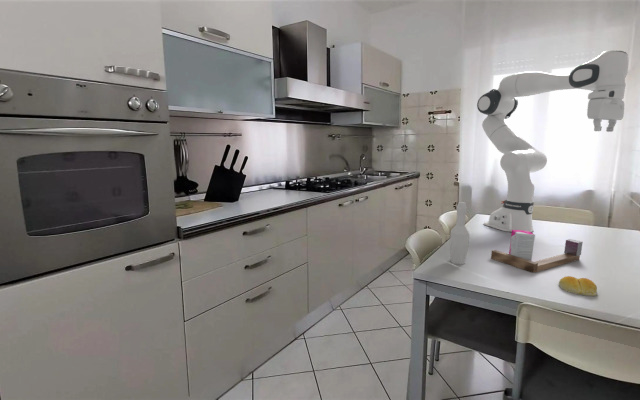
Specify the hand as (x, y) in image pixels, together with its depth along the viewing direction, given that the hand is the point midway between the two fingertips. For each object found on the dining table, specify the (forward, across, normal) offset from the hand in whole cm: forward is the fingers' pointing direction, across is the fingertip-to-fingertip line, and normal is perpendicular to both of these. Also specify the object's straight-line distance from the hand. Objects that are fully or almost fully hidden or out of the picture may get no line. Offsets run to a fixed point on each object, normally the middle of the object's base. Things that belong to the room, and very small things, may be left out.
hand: (603, 131), depth 132 cm
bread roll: (+47, +51, +21) cm, 73 cm away
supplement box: (+47, +44, -1) cm, 64 cm away
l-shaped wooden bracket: (+47, +36, 0) cm, 59 cm away
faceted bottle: (+47, +64, -11) cm, 80 cm away
